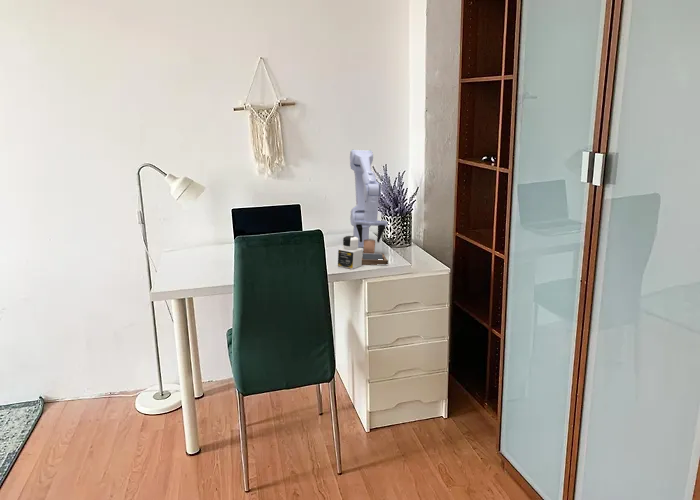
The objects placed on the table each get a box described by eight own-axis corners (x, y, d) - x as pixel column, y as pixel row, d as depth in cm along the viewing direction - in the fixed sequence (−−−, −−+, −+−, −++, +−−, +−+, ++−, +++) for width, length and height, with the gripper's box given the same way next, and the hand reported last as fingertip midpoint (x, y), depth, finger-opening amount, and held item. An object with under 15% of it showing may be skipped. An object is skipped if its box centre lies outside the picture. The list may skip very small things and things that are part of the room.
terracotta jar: (362, 252, 260) (363, 239, 258) (373, 252, 260) (374, 239, 259) (363, 255, 255) (364, 241, 254) (375, 255, 255) (376, 241, 254)
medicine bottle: (337, 266, 235) (338, 236, 232) (347, 262, 241) (348, 234, 238) (352, 269, 231) (353, 239, 229) (361, 265, 237) (363, 236, 235)
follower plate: (362, 259, 247) (362, 253, 246) (381, 259, 248) (382, 253, 247) (362, 259, 246) (362, 253, 245) (382, 260, 247) (382, 254, 246)
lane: (357, 256, 252) (357, 251, 252) (382, 256, 253) (383, 252, 253) (361, 264, 239) (361, 260, 238) (387, 265, 240) (388, 260, 239)
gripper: (355, 212, 249) (353, 243, 252) (389, 213, 250) (387, 244, 253) (353, 209, 255) (352, 239, 258) (386, 210, 257) (384, 240, 260)
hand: (369, 241), depth 256 cm, fingers open, 7 cm apart
